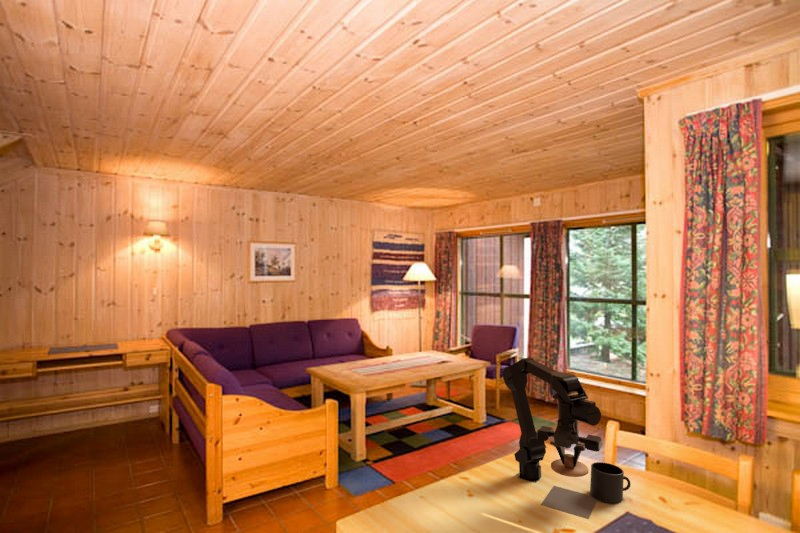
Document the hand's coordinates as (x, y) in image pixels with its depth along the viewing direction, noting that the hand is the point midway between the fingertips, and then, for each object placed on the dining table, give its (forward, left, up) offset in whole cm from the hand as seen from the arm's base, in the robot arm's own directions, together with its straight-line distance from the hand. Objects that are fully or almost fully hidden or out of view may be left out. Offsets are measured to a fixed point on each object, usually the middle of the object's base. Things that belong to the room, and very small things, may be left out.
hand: (569, 465), depth 137 cm
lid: (0, 0, -1) cm, 1 cm away
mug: (+10, +10, -12) cm, 18 cm away
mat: (0, 0, -12) cm, 12 cm away
